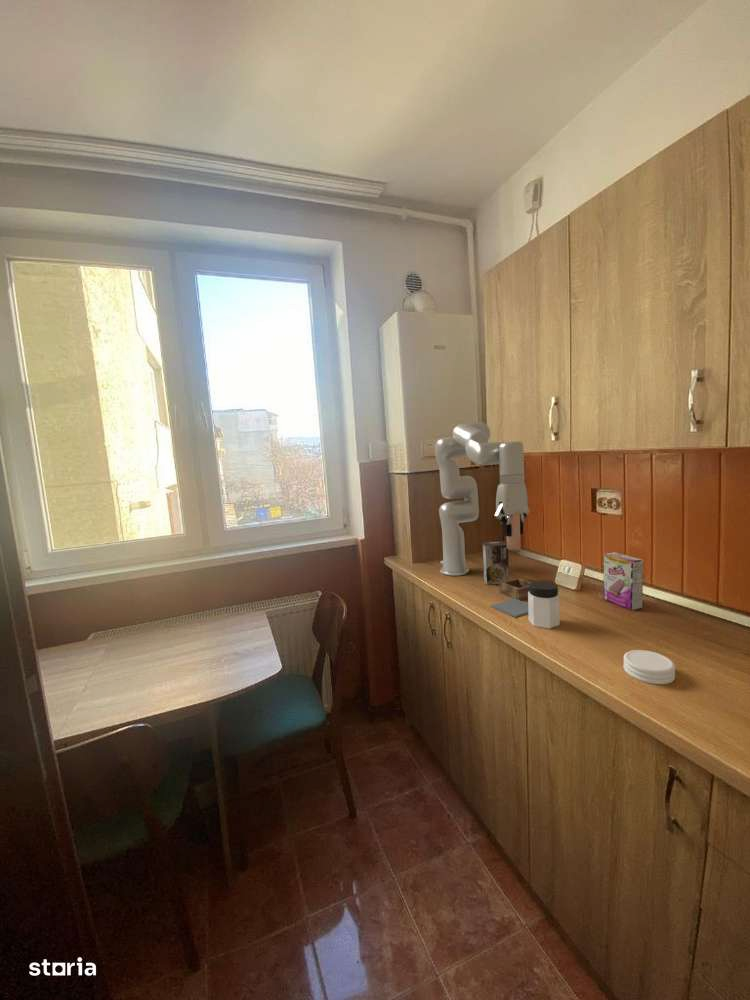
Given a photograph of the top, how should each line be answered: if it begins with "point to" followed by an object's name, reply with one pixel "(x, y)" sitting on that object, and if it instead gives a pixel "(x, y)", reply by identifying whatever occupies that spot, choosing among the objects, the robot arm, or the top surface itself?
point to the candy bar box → (623, 580)
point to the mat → (512, 607)
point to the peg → (514, 533)
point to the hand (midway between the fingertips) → (513, 534)
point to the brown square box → (515, 588)
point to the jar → (543, 604)
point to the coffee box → (495, 562)
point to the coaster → (649, 667)
